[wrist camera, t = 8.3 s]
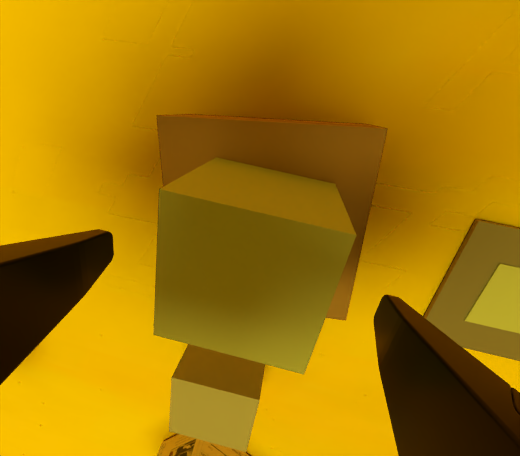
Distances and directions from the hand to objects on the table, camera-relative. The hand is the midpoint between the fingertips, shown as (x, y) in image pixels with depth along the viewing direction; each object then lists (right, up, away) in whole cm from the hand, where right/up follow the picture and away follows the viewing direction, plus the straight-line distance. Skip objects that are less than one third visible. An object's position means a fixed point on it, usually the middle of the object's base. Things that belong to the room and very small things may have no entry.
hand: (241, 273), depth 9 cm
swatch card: (+15, -2, +7) cm, 17 cm away
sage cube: (+1, +2, +3) cm, 4 cm away
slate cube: (-2, -8, +12) cm, 14 cm away
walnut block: (+1, +3, +7) cm, 8 cm away
